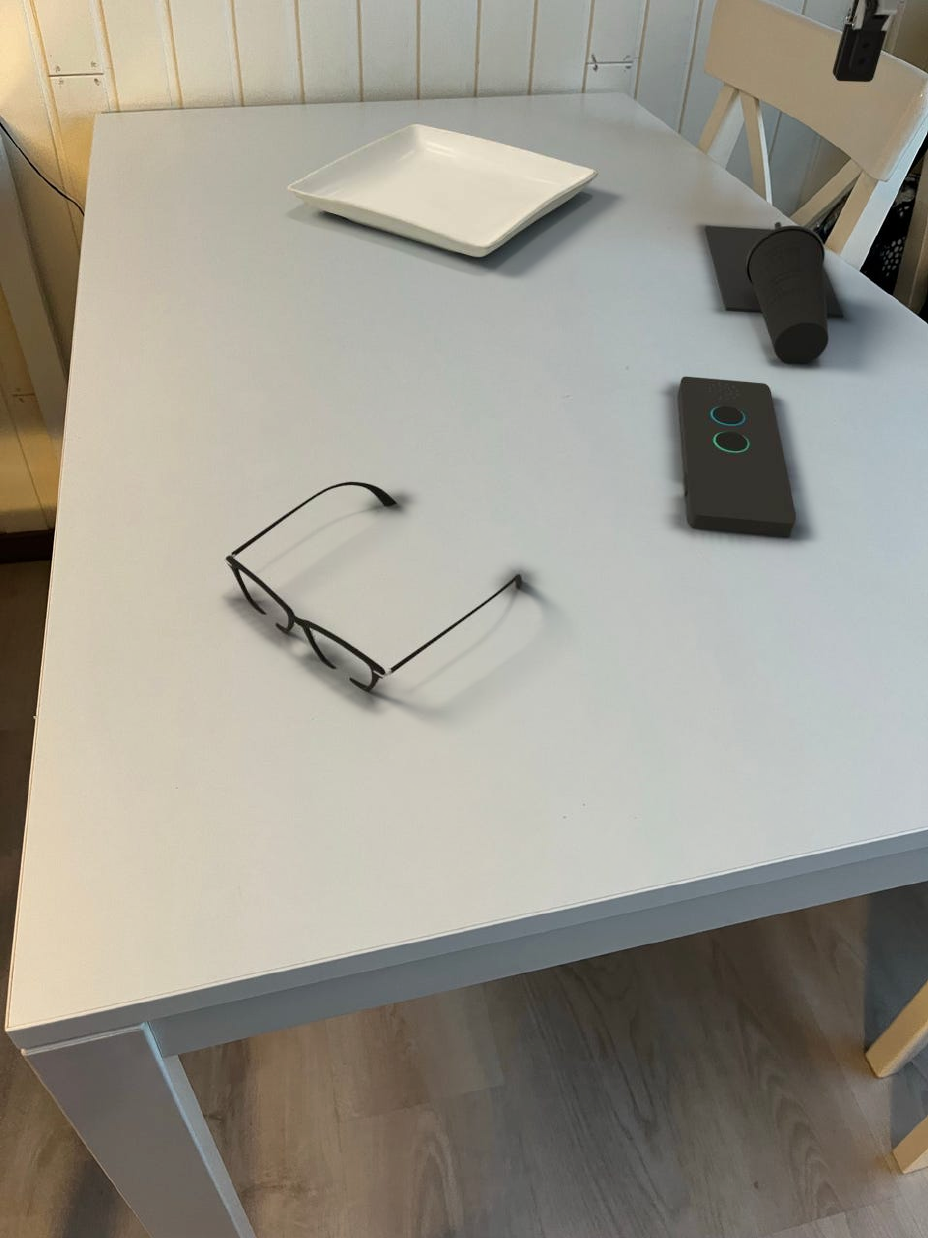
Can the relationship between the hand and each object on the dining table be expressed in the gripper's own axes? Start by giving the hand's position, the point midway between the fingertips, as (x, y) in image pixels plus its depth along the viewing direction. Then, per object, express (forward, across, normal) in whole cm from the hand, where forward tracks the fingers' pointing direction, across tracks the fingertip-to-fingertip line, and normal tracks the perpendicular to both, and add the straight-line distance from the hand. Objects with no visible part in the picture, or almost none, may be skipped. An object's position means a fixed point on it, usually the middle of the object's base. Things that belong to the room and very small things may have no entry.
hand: (851, 77), depth 84 cm
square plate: (+21, +20, +38) cm, 48 cm away
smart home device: (+22, -28, +10) cm, 36 cm away
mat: (+22, +8, +1) cm, 23 cm away
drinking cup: (+19, -12, +2) cm, 23 cm away
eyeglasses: (+21, -47, +37) cm, 63 cm away
